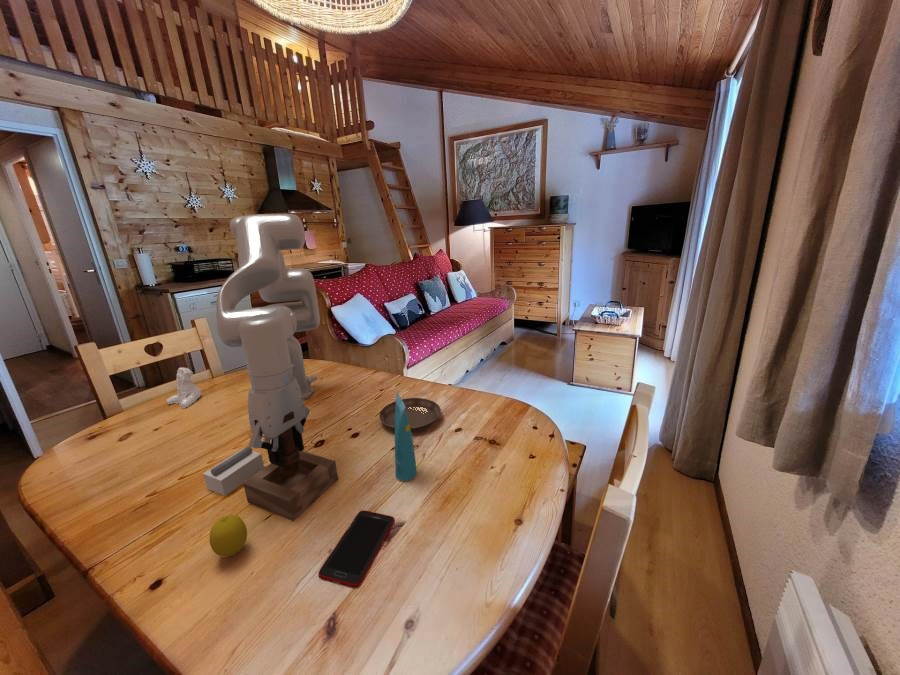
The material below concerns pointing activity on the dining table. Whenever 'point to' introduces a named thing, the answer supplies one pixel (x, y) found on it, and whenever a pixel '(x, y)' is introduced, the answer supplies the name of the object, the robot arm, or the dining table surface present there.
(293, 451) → the bolt
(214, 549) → the lemon
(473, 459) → the dining table surface
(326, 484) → the socket
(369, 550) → the cell phone
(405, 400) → the plant saucer
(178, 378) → the seated beast figurine
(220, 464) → the pin mount
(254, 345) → the robot arm
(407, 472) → the tube
